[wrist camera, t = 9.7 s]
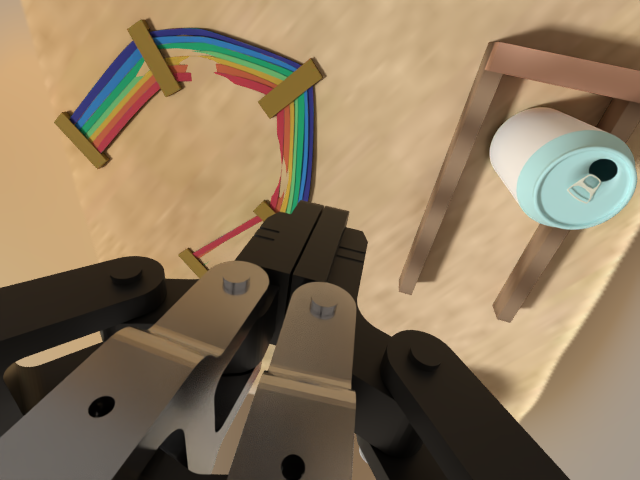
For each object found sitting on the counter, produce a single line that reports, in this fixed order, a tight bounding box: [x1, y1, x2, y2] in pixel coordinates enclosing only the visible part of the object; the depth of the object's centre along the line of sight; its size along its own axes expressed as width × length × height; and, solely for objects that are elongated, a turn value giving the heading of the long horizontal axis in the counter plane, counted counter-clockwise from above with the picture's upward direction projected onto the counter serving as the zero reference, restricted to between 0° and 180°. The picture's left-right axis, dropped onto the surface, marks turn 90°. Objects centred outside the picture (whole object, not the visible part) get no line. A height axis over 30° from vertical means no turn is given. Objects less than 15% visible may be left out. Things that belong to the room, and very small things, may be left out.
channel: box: [399, 42, 640, 323], centre depth 34 cm, size 26×13×4 cm, turn 170°
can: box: [490, 107, 637, 230], centre depth 28 cm, size 7×7×12 cm
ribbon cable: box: [54, 20, 323, 278], centre depth 40 cm, size 29×1×30 cm
